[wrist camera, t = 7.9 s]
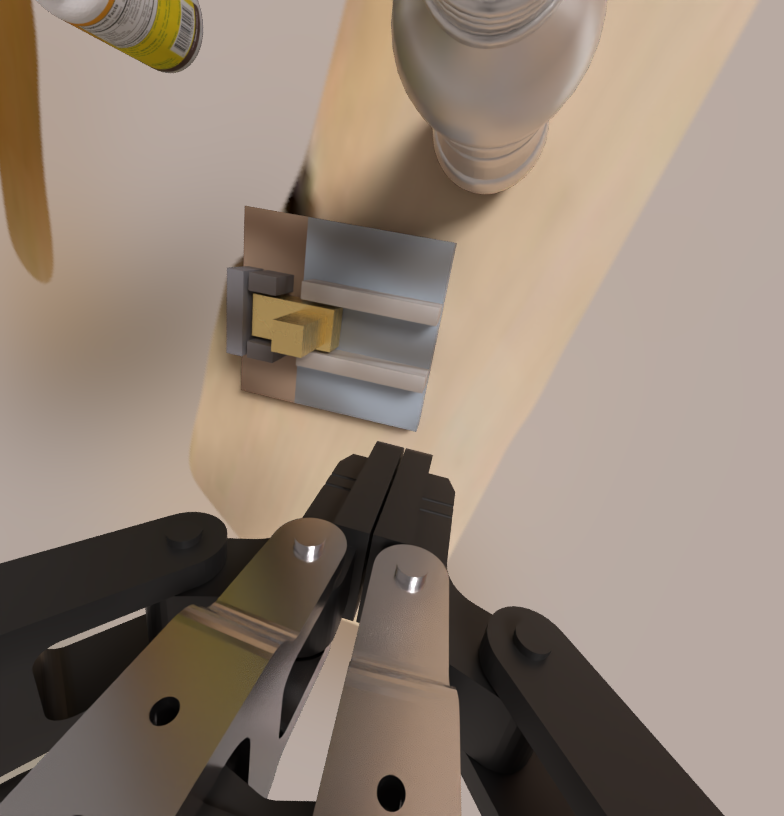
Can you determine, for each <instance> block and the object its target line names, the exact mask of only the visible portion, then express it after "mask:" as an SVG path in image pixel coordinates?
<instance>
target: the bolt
mask: <svg viewBox="0 0 784 816" xmlns="http://www.w3.org/2000/svg"><path fill="white" fill-rule="evenodd" d="M342 314H343V307H338V306H333V305H328V304H323V303H318V302H313V301H308V300H304V299H301V298H299V297H294V296H289V295H285V294H281V295H277V296H274V295H269V294H264V293H254V294H253V315H252V335H253V336H257V337H262V338H266V339H271V340H272V343H271V351H272V352H277V353H281V354H286V355H290V356H294V357H299V358H302V357H304V356H305V355H307V354H308V353H310V352H312V351H313V350H315V349H316V350H321V351H326V352H331V351H333V350H334V349H336V348H337V347H338V346H339V340H340V331H341V322H342Z"/></svg>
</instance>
